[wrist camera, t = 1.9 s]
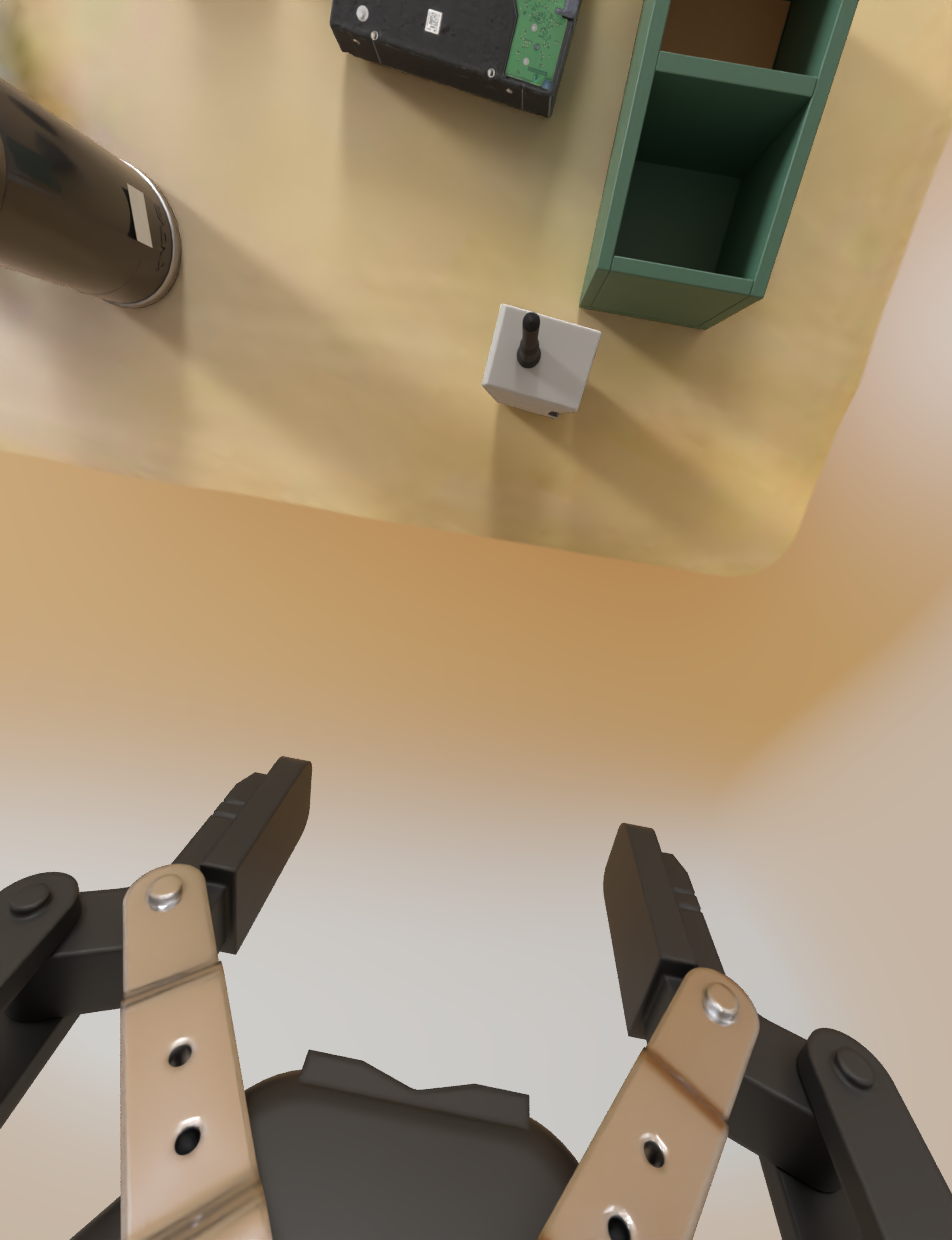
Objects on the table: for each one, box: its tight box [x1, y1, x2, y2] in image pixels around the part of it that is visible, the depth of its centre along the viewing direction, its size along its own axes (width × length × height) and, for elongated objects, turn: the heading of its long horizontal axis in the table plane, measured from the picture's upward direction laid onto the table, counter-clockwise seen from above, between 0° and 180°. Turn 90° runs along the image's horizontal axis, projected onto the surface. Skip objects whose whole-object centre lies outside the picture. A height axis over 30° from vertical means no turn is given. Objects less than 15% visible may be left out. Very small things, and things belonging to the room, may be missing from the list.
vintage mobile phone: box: [482, 303, 601, 419], centre depth 29 cm, size 4×5×25 cm
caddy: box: [579, 0, 859, 330], centre depth 31 cm, size 10×18×10 cm, turn 170°
